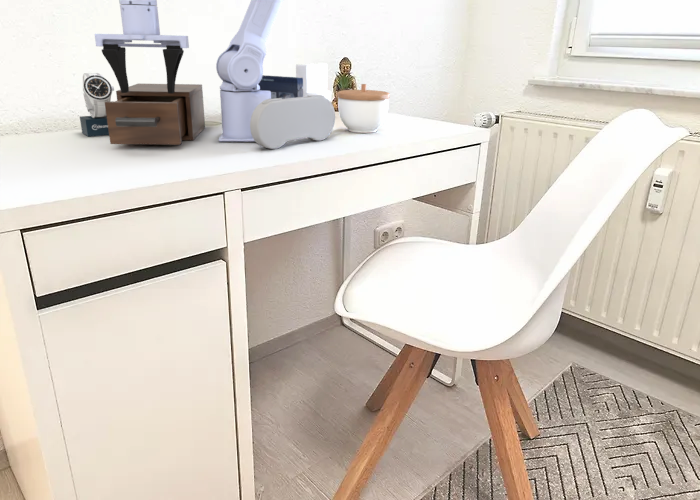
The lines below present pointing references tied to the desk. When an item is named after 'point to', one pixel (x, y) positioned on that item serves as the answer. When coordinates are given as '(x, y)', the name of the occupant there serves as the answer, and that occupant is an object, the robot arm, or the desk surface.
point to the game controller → (292, 120)
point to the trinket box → (363, 109)
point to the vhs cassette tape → (282, 86)
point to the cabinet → (188, 91)
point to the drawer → (147, 120)
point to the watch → (95, 104)
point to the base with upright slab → (313, 79)
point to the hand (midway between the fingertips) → (148, 92)
